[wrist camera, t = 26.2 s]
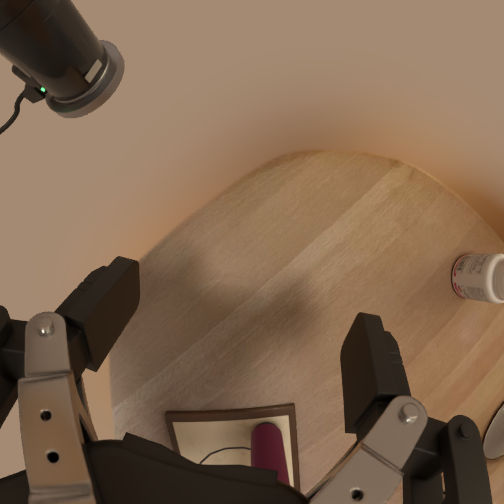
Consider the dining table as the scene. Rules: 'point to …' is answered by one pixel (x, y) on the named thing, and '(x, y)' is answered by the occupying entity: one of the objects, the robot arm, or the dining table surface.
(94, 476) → the robot arm
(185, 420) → the pad
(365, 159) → the dining table surface
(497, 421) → the chalice
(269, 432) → the marker
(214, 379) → the dining table surface
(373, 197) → the dining table surface
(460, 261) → the pill bottle
